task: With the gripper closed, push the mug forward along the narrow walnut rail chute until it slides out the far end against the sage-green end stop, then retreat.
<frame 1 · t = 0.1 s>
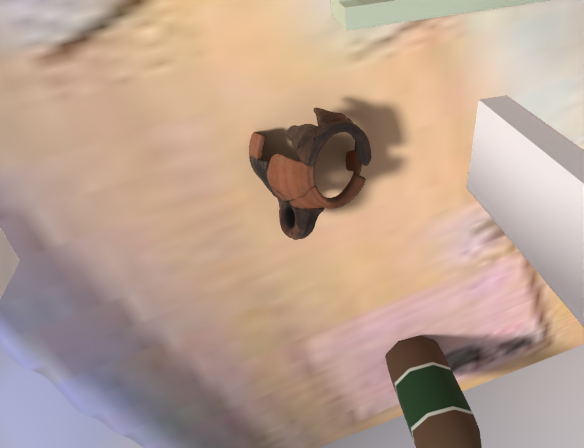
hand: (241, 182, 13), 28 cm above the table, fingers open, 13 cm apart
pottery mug: (300, 156, 44), on the table
beer bottle: (410, 352, 64), on the table
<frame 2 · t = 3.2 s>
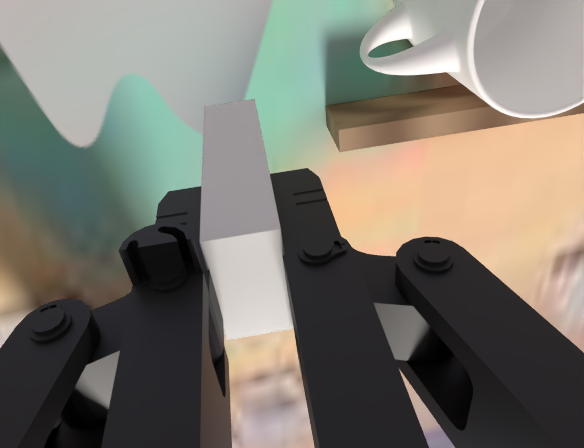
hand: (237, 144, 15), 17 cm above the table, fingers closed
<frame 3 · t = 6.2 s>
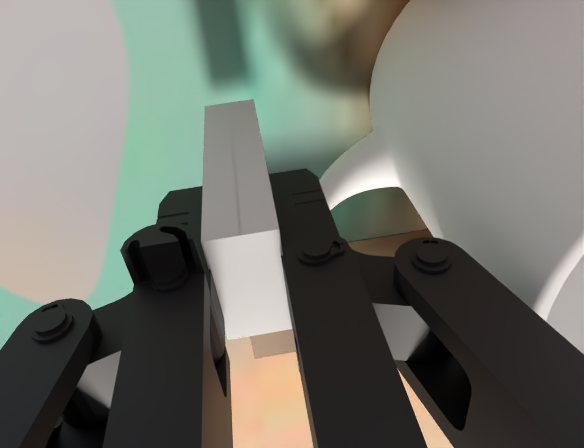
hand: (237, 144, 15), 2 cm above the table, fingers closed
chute: (494, 87, 17), on the table
mug: (433, 96, 17), on the table, touching gripper
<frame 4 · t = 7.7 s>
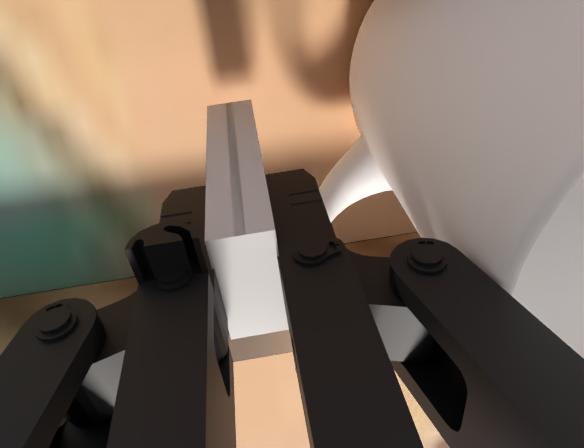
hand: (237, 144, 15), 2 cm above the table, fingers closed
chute: (198, 132, 16), on the table
mug: (418, 89, 17), on the table, touching gripper
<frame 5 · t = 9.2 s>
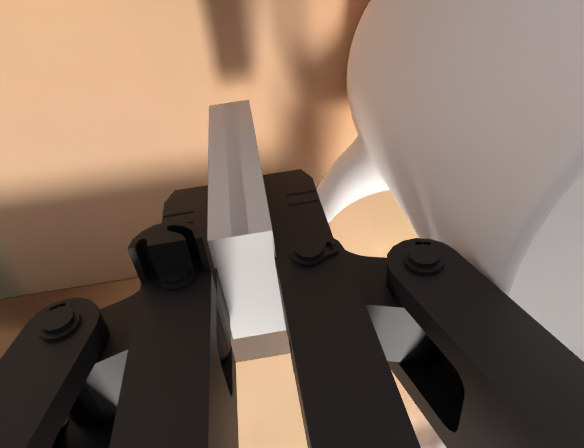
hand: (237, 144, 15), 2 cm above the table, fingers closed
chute: (22, 158, 16), on the table
mug: (416, 89, 17), on the table, touching gripper, hand
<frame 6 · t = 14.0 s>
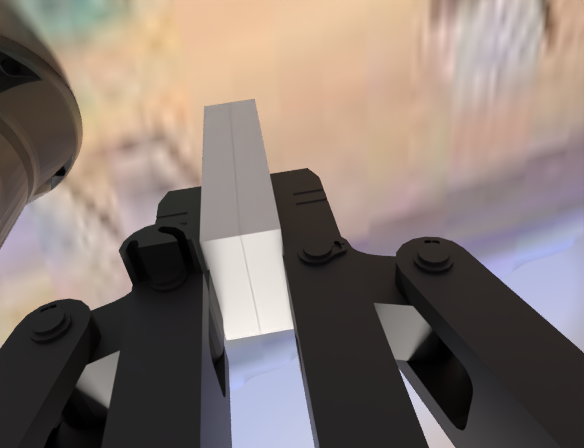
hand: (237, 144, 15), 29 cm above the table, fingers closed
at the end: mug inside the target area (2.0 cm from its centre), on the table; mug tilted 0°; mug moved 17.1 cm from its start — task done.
